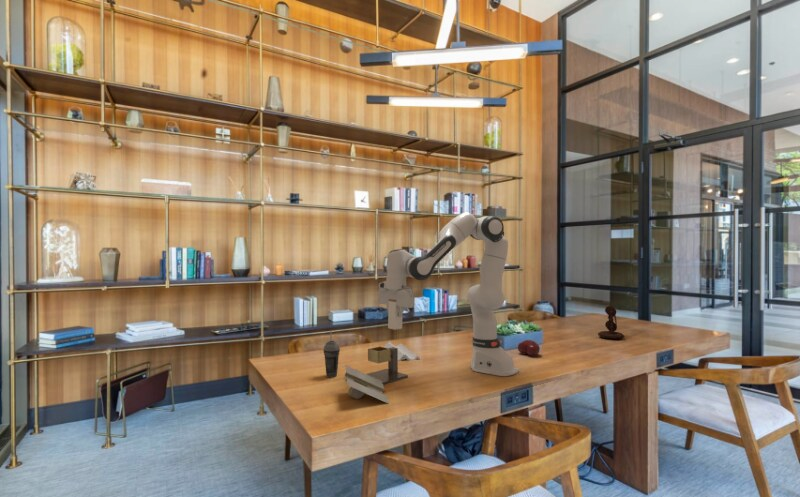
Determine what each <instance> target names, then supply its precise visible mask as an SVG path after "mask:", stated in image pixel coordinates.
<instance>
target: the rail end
mask: <svg viewBox="0 0 800 497" xmlns="http://www.w3.org/2000/svg"><path fill="white" fill-rule="evenodd" d="M387 311H388V314H387V319H388V320H387V328H388V329H390V330H394V331H395V330H402V329H403V316H402V317H398V316H397V315H398V314H397V313H399V311H400V309H399V307H398V306H396V300H392V299H389V309H387Z"/></svg>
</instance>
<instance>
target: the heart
mask: <svg viewBox="0 0 800 497" xmlns="http://www.w3.org/2000/svg"><path fill="white" fill-rule="evenodd" d="M540 349H541V348H540V345H539V344H538V343H537V342H536V341H534V340H532V339H526V340H523V341H521V342H520V343H519V342H518V345H517V350H518V352H519V353H521V354H522V355H523V354H524V355H527V356H531V357H535V356H537V355H538V354H539V353H540Z"/></svg>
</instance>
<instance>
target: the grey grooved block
mask: <svg viewBox="0 0 800 497" xmlns="http://www.w3.org/2000/svg"><path fill="white" fill-rule="evenodd" d="M344 367H345V368H344V369H345V373H344V381H345V382H346V385H347V386H348V387H350V388H349V389H348V392H347V393H348V396H349V397H352V398H354V399H355V400H359V399H361V398H363V396H364V395H365V394H366V395H369V396H371V397H373V398H375V399H377V400H379V401H382V402H384V403H386V404H390V401H389V398H388V395H386V394H384V391H385V387H384V385H383V383H382V381H380V380H378V379H375V378H373V377H371V376H369V375H367V374H368V373H364V372H362V371H359V370H358V369H355V368H353V367H352V366H348V365H344Z"/></svg>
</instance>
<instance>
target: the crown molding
mask: <svg viewBox="0 0 800 497" xmlns="http://www.w3.org/2000/svg"><path fill="white" fill-rule="evenodd" d="M383 347H385V348H391V347H395V348H398V362H401V361H402V360H407V361H415V360H420V358H421V357H419V356H418V355H417V354H416V353H414V352H413V351H411V350H410V349H409V348H407V346H405V345H404V344H402V343H399V344H398V345H394V343H392V342H390V341H388V342H386V344H385V345H384V346H383Z"/></svg>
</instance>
